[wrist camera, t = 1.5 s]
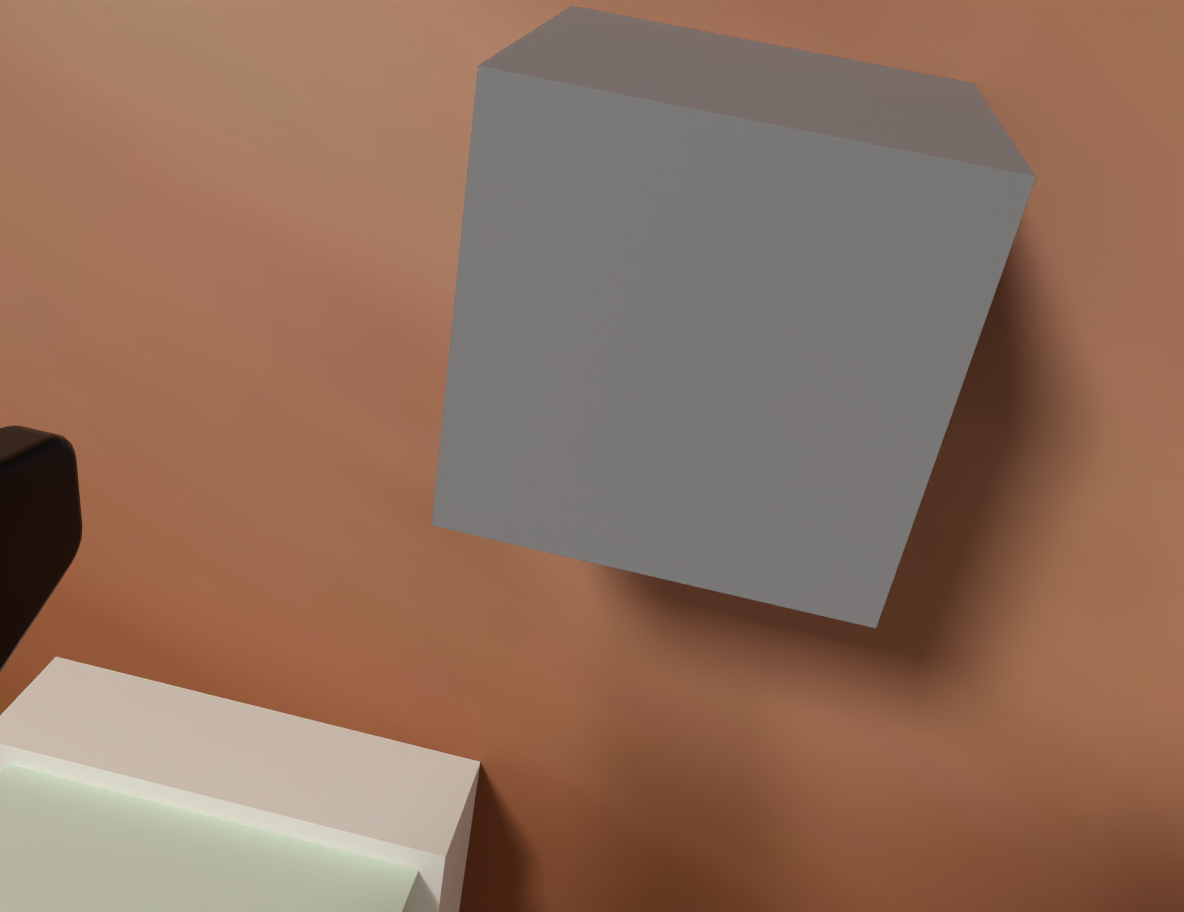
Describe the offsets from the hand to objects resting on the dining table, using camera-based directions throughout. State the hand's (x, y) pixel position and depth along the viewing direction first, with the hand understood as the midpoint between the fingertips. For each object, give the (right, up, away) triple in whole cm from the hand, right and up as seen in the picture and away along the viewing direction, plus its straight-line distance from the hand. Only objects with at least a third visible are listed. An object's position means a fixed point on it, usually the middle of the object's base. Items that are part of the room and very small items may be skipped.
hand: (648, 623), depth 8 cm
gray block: (+2, +4, +8) cm, 10 cm away
